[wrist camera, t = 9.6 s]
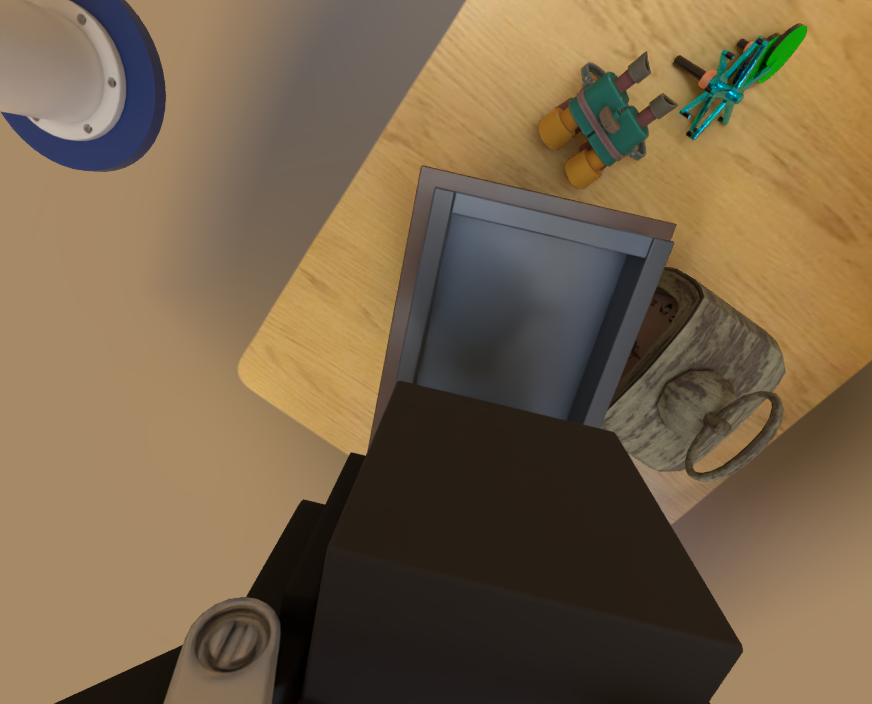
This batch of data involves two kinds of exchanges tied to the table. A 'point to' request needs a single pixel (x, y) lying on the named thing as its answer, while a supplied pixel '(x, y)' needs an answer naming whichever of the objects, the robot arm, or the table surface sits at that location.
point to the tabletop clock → (694, 380)
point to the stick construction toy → (738, 74)
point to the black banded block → (507, 570)
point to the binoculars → (603, 121)
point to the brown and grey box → (520, 297)
